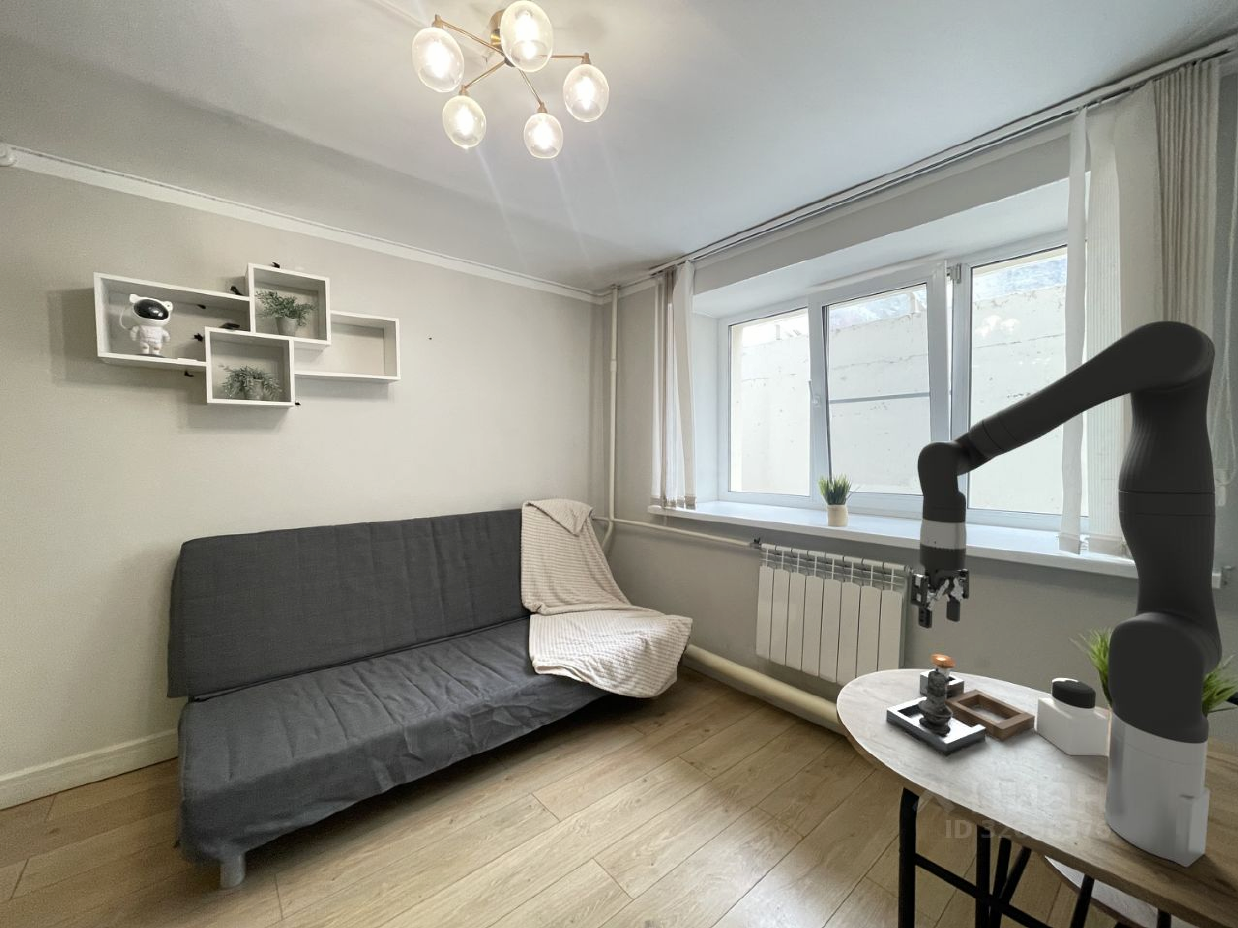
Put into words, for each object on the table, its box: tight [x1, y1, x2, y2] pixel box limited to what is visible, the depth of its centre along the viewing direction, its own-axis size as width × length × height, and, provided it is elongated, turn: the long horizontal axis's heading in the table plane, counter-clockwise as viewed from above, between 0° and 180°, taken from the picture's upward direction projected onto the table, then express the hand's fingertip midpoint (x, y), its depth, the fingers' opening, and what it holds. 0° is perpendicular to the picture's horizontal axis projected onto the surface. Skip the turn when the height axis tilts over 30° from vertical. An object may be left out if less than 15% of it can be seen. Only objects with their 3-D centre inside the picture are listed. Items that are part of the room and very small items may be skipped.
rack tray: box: [885, 696, 987, 757], centre depth 95 cm, size 12×12×2 cm
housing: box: [918, 668, 965, 699], centre depth 107 cm, size 6×6×4 cm
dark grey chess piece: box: [918, 667, 953, 734], centre depth 95 cm, size 6×6×12 cm
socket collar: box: [945, 688, 1036, 742], centre depth 99 cm, size 11×11×2 cm
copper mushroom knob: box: [930, 653, 956, 683], centre depth 107 cm, size 4×4×7 cm
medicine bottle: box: [1035, 677, 1110, 756], centre depth 91 cm, size 7×7×12 cm
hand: (939, 623), depth 94 cm, fingers open, 8 cm apart
